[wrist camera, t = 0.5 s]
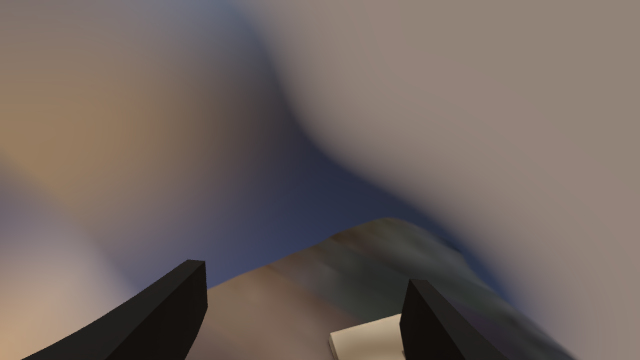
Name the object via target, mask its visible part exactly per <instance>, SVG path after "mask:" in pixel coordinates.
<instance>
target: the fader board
mask: <svg viewBox="0 0 640 360" xmlns="http://www.w3.org/2000/svg"><path fill="white" fill-rule="evenodd" d="M400 318H401V314H399V315H395V316H391V317H388V318H384V319H381V320H377V321H373V322H370V323H366V324H362V325H359V326H355V327H352V328H348V329H344V330H341V331H337V332H333V333H330V338H329V343H330V346H331V350H332V353H333V356H334V359H335V360H406V357H405V354H404V349H403V343H402V338H401V332H400V326H399V322H400Z"/></svg>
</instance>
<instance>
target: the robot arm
mask: <svg viewBox="0 0 640 360" xmlns="http://www.w3.org/2000/svg"><path fill="white" fill-rule="evenodd" d="M207 308H208V303H207V286H206V267H205V261H198V260H186V261H185V262H183V263H182V264H180V265H179V266H178V267H176V268H175V269H173V270H172V271H170V272H169V273H167V274H166V275H165V276H163V277H162V278H160V279H159V280H157V281H156V282H154V283H153V284H152V285H150V286H149V287H147V288H146V289H144V290H143V291H141V292H140V293H139V294H137V295H136V296H134V297H132V298H131V299H129V300H128V301H126V302H125V303H123V304H121V305H120V306H118V307H117V308H115V309H113V310H112V311H110V312H109V313H107V314H106V315H104V316H102V317H101V318H99V319H97V320H96V321H94V322H92V323H91V324H89V325H87V326H86V327H84V328H82V329H80V330H78V331H77V332H75V333H73V334H71V335H69V336H67V337H65V338H63V339H62V340H60V341H58V342H56V343H54V344H52V345H50V346H48V347H47V348H44V349H43V350H40V351H38V352H36V353H34V354H32V355H30V356H28V357H26V358H24V359H22V360H185V358H186V356H187V354H188V352H189V350H190V348H191V346H192V344H193V343H194V341H195V339H196V337H197V334H198V332H199V329H200V327H201V324H202V322H203V319H204V316H205V313H206V311H207ZM399 326H400V332H401V338H402V343H403V349H404V354H405V357H406V360H509V359H507V358H506V357H505V356H504V355H503V354H502V353H501V352H500V351H498V350H497V349H496V348H495V347H494V346H493V345H492V344H491V343H490V342H488V341H487V340H486V339H485V338H484V337H483V336H482V335H481V334H480V333H479V332H478V331H477V330H476V329H475V328H474V327H473V326H472V325H471V324H470V323H468V322H467V321H466V320H465V319H464V318H463V317H462V316H461V315H460V314H459V313H458V312H457V311H456V309H455V308H454V307H453V306H452V305H451V304H450V303H449V302H448V301H447V300H446V299H445V298H444V297H443V296H442V295H441V294H440V293H439V292H438V291H437V290H436V289H435V288H434V287H433V286H432V285H431V284H430V283H429V282H428V281H427V280H416V279H409V284H408V288H407V292H406V296H405V301H404V305H403V309H402V313H401V318H400V322H399Z"/></svg>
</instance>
